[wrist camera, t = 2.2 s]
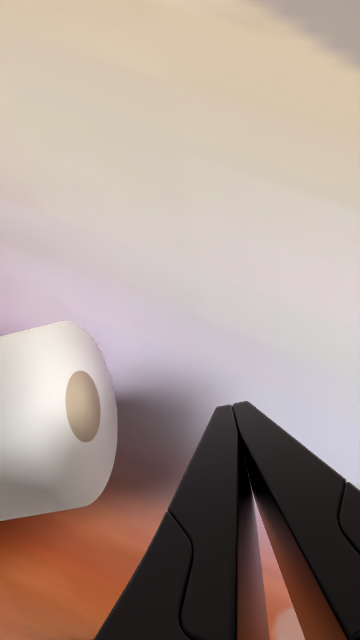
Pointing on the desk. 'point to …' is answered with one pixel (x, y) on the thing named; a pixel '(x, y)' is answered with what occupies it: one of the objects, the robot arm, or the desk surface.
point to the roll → (54, 420)
